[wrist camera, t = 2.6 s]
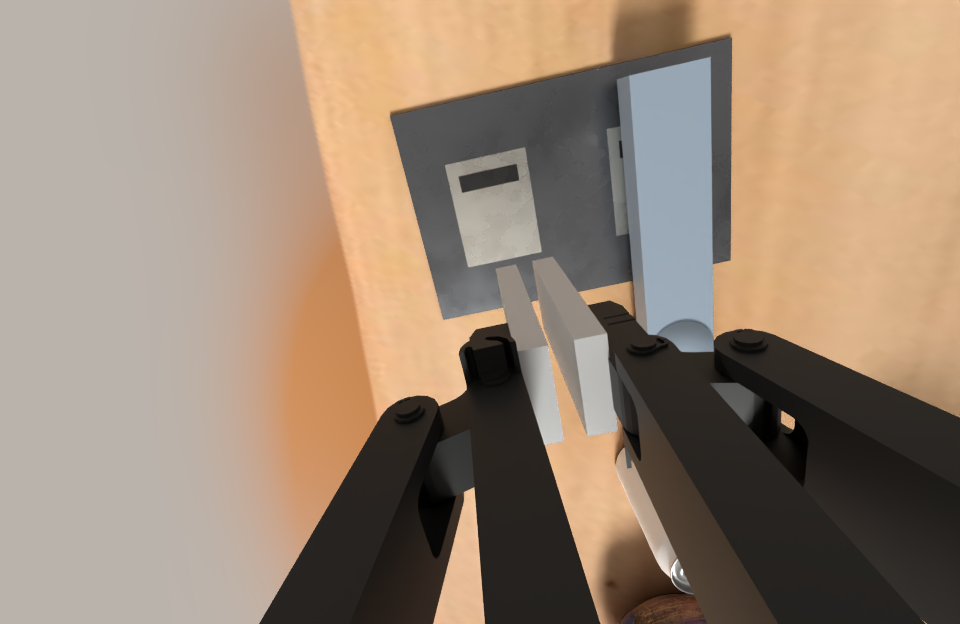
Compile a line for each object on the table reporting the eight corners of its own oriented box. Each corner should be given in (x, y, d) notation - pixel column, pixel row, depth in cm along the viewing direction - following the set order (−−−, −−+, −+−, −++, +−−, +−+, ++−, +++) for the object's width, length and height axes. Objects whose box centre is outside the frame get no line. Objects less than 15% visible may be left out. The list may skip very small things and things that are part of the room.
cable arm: (690, 62, 30) (712, 56, 27) (697, 356, 38) (715, 373, 36) (615, 80, 30) (630, 75, 27) (639, 368, 38) (652, 385, 36)
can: (603, 450, 44) (651, 560, 33) (664, 421, 43) (736, 523, 31) (630, 493, 46) (683, 610, 35) (689, 466, 45) (763, 577, 34)
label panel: (730, 38, 31) (732, 37, 30) (729, 259, 37) (730, 260, 36) (390, 116, 32) (389, 116, 32) (443, 318, 38) (443, 320, 38)
